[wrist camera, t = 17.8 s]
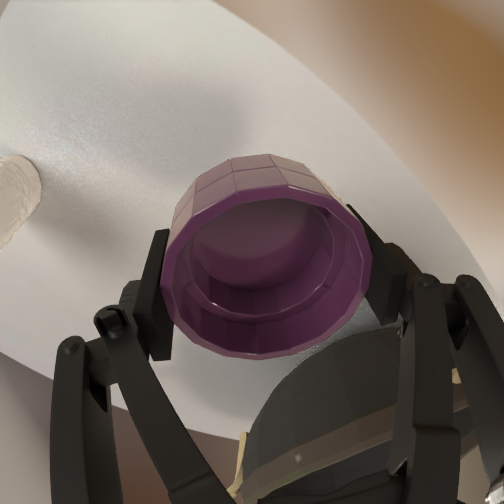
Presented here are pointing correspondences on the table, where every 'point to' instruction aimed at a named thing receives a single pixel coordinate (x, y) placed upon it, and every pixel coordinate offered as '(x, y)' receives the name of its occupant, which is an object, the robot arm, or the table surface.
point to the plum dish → (263, 259)
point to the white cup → (16, 195)
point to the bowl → (332, 421)
